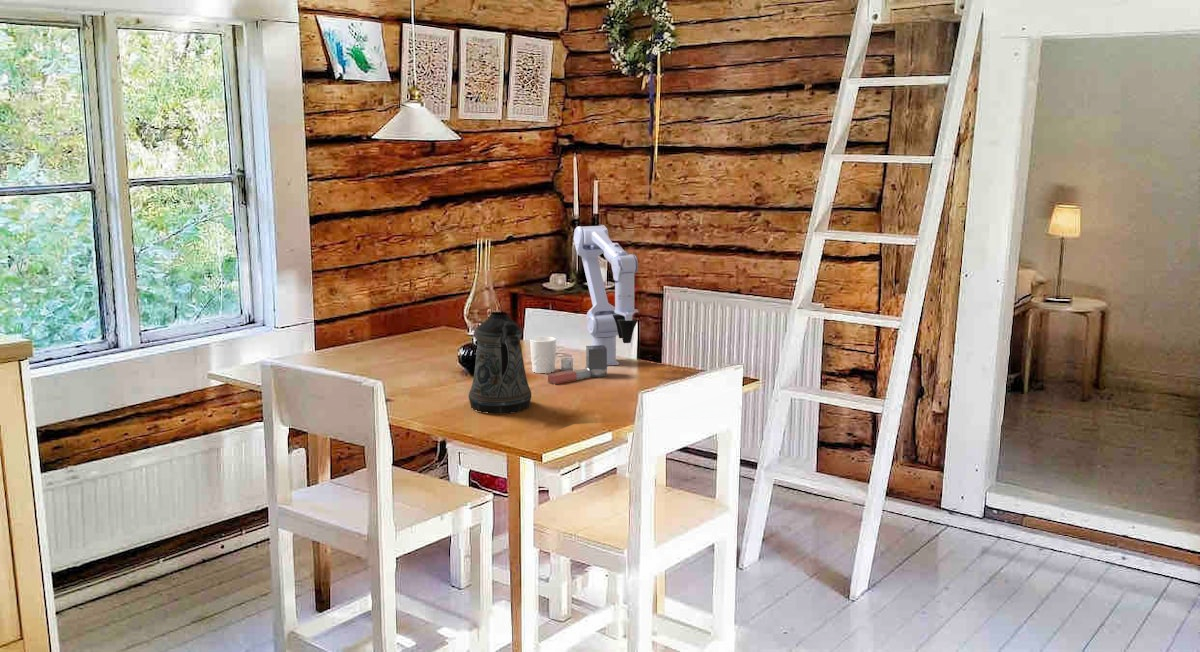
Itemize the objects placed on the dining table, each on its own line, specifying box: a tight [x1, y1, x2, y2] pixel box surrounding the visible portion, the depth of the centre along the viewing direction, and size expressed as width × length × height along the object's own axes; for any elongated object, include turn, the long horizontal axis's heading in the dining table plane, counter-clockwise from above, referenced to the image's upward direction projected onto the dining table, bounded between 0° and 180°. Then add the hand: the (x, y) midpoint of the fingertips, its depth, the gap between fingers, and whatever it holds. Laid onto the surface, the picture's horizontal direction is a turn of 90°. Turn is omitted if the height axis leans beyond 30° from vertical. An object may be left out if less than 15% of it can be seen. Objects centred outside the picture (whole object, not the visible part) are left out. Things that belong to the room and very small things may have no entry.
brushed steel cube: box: [585, 345, 608, 370], centre depth 297 cm, size 5×5×6 cm
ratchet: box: [547, 366, 608, 385], centre depth 293 cm, size 20×6×6 cm, turn 129°
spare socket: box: [560, 357, 574, 372], centre depth 302 cm, size 4×4×4 cm
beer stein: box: [468, 311, 532, 414], centre depth 260 cm, size 16×19×25 cm
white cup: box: [529, 336, 557, 374], centre depth 303 cm, size 8×8×10 cm
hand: (624, 340), depth 299 cm, fingers open, 7 cm apart
